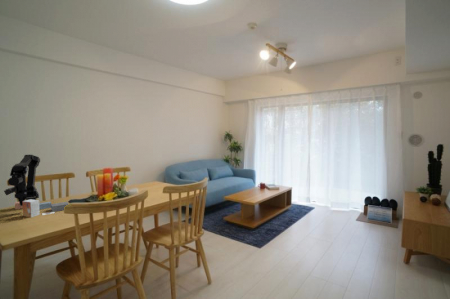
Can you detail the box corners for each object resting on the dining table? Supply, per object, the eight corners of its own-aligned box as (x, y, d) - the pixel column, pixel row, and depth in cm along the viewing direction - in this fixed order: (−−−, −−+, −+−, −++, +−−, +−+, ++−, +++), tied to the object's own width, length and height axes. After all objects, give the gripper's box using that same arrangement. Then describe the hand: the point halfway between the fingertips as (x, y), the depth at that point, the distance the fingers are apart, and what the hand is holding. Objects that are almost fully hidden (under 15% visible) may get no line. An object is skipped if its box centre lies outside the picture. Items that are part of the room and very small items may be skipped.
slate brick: (39, 208, 173) (38, 203, 173) (50, 206, 178) (50, 201, 178) (39, 210, 169) (39, 204, 169) (51, 208, 174) (51, 202, 174)
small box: (22, 216, 156) (21, 201, 155) (31, 213, 161) (31, 198, 160) (31, 217, 153) (30, 202, 153) (40, 214, 159) (39, 199, 158)
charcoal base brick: (50, 209, 169) (50, 204, 169) (67, 206, 176) (67, 201, 176) (51, 212, 163) (51, 206, 163) (68, 209, 170) (68, 204, 170)
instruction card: (41, 213, 161) (41, 213, 161) (54, 211, 165) (54, 211, 165) (42, 215, 157) (42, 215, 157) (54, 213, 162) (54, 212, 162)
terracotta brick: (15, 207, 161) (15, 202, 161) (28, 205, 166) (28, 200, 166) (15, 209, 158) (14, 203, 157) (28, 207, 162) (28, 201, 162)
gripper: (5, 182, 163) (7, 203, 164) (3, 186, 148) (4, 210, 149) (26, 180, 170) (27, 200, 171) (26, 184, 156) (27, 206, 157)
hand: (21, 204), depth 162 cm, fingers closed on terracotta brick, 5 cm apart
